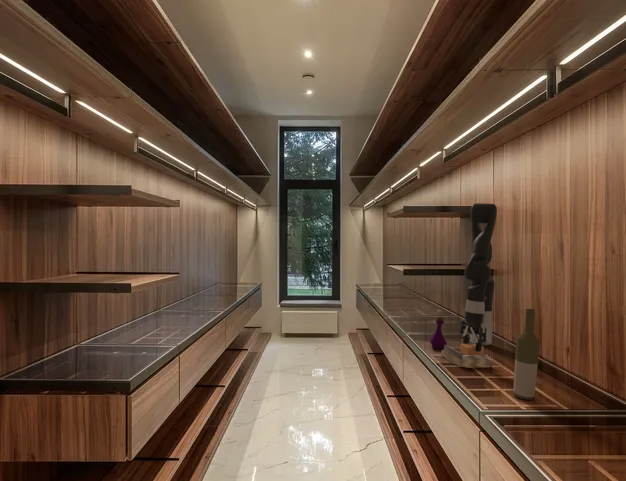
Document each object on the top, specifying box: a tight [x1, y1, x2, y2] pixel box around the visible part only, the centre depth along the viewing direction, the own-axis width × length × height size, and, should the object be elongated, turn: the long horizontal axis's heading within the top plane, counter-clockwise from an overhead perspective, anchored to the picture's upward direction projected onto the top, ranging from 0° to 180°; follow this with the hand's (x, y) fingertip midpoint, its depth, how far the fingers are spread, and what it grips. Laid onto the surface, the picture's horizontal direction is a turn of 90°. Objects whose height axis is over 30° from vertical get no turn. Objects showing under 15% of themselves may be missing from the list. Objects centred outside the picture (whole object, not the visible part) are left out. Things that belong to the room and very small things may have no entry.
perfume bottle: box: [428, 309, 448, 350], centre depth 190 cm, size 8×8×18 cm
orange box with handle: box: [459, 342, 485, 355], centre depth 171 cm, size 8×5×5 cm, turn 103°
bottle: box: [512, 308, 541, 401], centre depth 135 cm, size 7×7×30 cm
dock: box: [440, 345, 493, 369], centre depth 171 cm, size 15×14×6 cm
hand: (471, 348), depth 171 cm, fingers open, 8 cm apart
